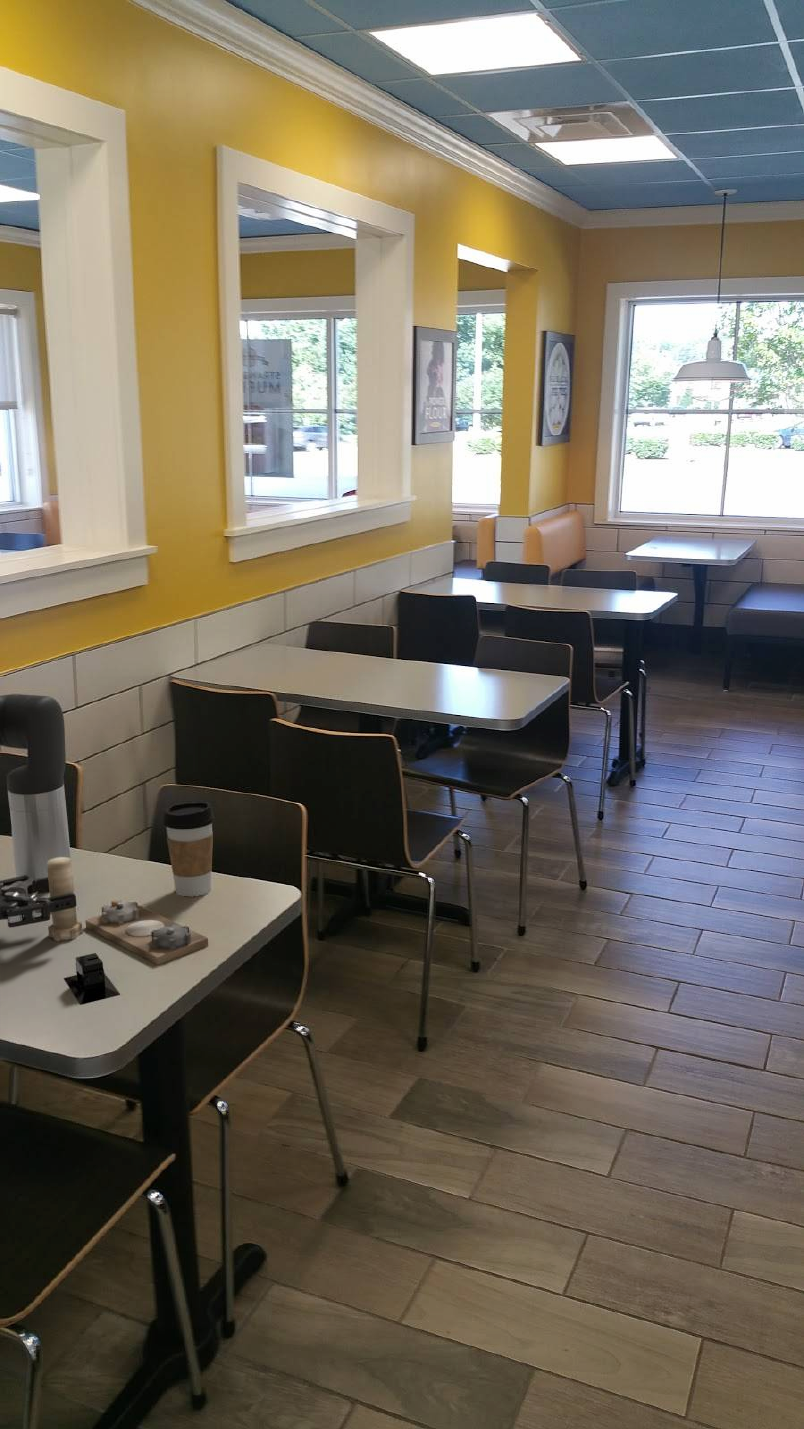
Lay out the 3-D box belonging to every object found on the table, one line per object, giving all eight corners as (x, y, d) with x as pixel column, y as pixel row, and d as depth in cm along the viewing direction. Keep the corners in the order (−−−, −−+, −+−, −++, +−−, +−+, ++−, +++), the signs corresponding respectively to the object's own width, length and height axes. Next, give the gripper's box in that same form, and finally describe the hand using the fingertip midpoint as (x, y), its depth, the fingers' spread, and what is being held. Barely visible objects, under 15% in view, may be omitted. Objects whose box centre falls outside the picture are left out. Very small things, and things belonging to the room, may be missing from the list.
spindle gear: (44, 934, 178) (36, 861, 175) (71, 925, 181) (64, 853, 178) (60, 943, 175) (53, 869, 172) (87, 933, 178) (81, 861, 175)
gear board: (85, 927, 180) (84, 907, 180) (135, 910, 187) (133, 891, 186) (157, 964, 167) (156, 943, 166) (208, 945, 173) (207, 925, 172)
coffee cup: (208, 901, 190) (202, 815, 186) (160, 898, 191) (154, 813, 188) (225, 882, 198) (220, 799, 194) (179, 880, 199) (174, 797, 196)
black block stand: (129, 1001, 157) (126, 970, 156) (76, 1014, 154) (73, 983, 153) (104, 967, 168) (101, 938, 167) (53, 979, 164) (51, 949, 163)
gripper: (-36, 905, 162) (78, 882, 170) (-53, 874, 174) (54, 854, 182) (-31, 954, 164) (82, 928, 172) (-48, 920, 176) (59, 898, 184)
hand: (68, 890), depth 177 cm, fingers open, 8 cm apart
